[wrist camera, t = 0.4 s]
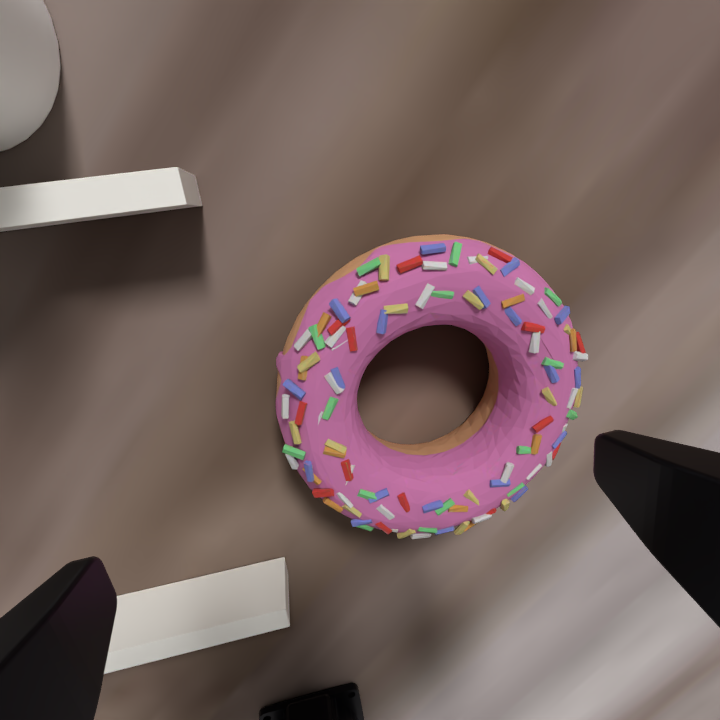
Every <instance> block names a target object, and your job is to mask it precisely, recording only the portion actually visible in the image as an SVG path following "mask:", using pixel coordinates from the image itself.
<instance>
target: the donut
mask: <svg viewBox="0 0 720 720" xmlns="http://www.w3.org/2000/svg"><path fill="white" fill-rule="evenodd" d="M569 314H570V308H569V306H563V304H562V302H561V299H560V298H558V297H557V295H556V294H555V293H554V291H553V290H552V289H551V288H550V286H549V285H548V284H547V283H546V282H545V281H544V279H543V278H542V277H541V276H540V275H539V274H538V273H537V272H536V271H535V270H533V269H532V268H531V267H530V266H528V265H527V264H526V263H525V262H523V261H522V260H520V259H518V258H516V257H515V256H514V255H512V254H510V253H508V252H506V251H504V250H502V249H500V248H498V247H495V246H493V245H491V244H489V243H486V242H483V241H479V240H476V239H472V238H469V237H461V236H454V235H447V234H441V235H425V236H412V237H408V238H403V239H399V240H395V241H392V242H389V243H387V244H384V245H381V246H379V247H376V248H374V249H372V250H370V251H368V252H366V253H364V254H362V255H360V256H358V257H356V258H355V259H353V260H352V261H350V262H349V263H348V264H346V265H345V266H343V267H342V268H341V269H339V270H338V271H337V272H335V273H334V274H333V275H332V276H331V277H330V278H329V279H328V280H327V281H326V282H325V283H324V284H323V285H322V286H321V287H320V288H319V289H318V290H317V291H316V292H315V293H314V294H313V296H312V297H311V298H310V299H309V301H308V302H307V303H306V305H305V306H304V308H303V309H302V311H301V312H300V313H299V315H298V317H297V319H296V321H295V323H294V325H293V327H292V329H291V331H290V333H289V336H288V338H287V340H286V343H285V347H284V350H283V352H280V353H279V354H278V356H277V358H276V367H277V369H278V377H277V393H276V414H277V419H278V422H279V425H280V429H281V432H282V436H283V439H284V442H285V445H284V447H283V451H282V452H283V453H285V455H286V457H287V459H288V461H289V464H290V466H291V468H292V469H297V471H298V472H299V474H300V475H301V477H302V478H303V479H304V481H305V482H306V484H307V485H308V486H309V488H310V489H311V490H312V494H313V496H314V498H319V497H320V498H321V499H323V502H324V503H325V504H327V505H328V506H330V507H332V508H333V509H335V510H336V511H338V512H340V513H342V514H343V515H345V516H347V517H349V518H351V519H352V520H351V524H352V526H353V527H358V528H362V529H365V530H368V531H371V530H373V529H374V528H377V529H380V530H383V531H384V532H386V533H387V534H389V533H390V532H396V533H397V537H398V539H403V538H405V537H407V536H409V535H410V537H411V538H412V539H419V538H429V537H430V536H431V533H434V534H435V535H438V534H442V533H446V532H450V531H454V533H455V535H460V534H462V533H463V531H464V532H465V531H466V530H468V529H469V528H471V527H472V526H474V525H476V524H477V523H479V522H482V521H484V520H487V519H490V518H491V517H492V515H491V514H493V513H495V512H496V508H498V507H500V506H501V507H500V508H501V509H502V510H503V511H506V510H507V509H508V508H509V504H510V502H509V501H508V500H509V499H511V500H512V501H513V502H515V501H517V500H518V499H519V498H520V497H521V496H522V495H523V494H524V493H525V492H526V491H527V490H528V488H527V487H526V486H525V485H526V484H527V483H528V482H529V481H530V480H531V479H532V478H533V477H534V476H535V475H536V474H537V473H538V472H539V471H540V469H541V468H542V467H543V466H544V465H545V466H547V467H548V466H551V464H552V460H553V459H554V458H555V456H556V454H557V452H558V449H559V447H560V444H561V441H562V440H563V439H564V437H565V436H566V435H567V432H566V431H565V429H566V427H567V425H568V424H567V422H568V419H569V418H570V419H572V420H574V419H575V418H577V417H578V416H577V413H576V412H574V411H573V410H572V408H573V406H574V407H577V408H578V407H580V403H581V397H582V391H583V388H582V387H581V368H580V367H578V363H577V361H585V360H588V354H586V352H585V349H584V346H583V342H582V339H581V336H580V333H579V332H576V330H575V329H573V327H572V322H571V320H570V318H569ZM443 324H446V325H454V326H457V327H460V328H463V329H466V330H468V331H469V332H471V333H473V334H474V335H476V336H477V337H478V338H479V339H480V340H481V341H482V342H483V343H484V345H485V347H486V350H487V355H488V360H489V378H488V382H487V386H486V389H485V392H484V395H483V398H482V399H481V401H480V402H479V404H478V406H477V407H476V409H475V410H474V412H473V413H472V414H471V415H470V416H469V417H468V419H467V420H466V421H465V422H464V423H463V424H462V425H460V426H459V427H458V428H456V429H455V430H453V431H452V432H450V433H449V434H447V435H445V436H442V437H440V438H438V439H435V440H433V441H431V442H426V443H419V444H413V445H405V444H396V443H391V442H387V441H384V440H382V439H380V438H378V437H376V436H375V435H373V434H372V433H371V432H369V431H368V430H367V429H366V428H365V426H364V425H363V422H362V420H361V417H360V414H359V412H358V407H357V392H358V388H359V384H360V380H361V378H362V376H363V373H364V371H365V369H366V367H367V365H368V364H369V363H370V362H371V360H372V359H373V358H374V357H375V355H376V354H377V353H378V352H379V351H380V350H381V349H382V348H383V347H385V346H386V345H387V344H388V343H389V342H390V341H392V340H394V339H395V338H397V337H399V336H400V335H402V334H404V333H406V332H409V331H412V330H415V329H417V328H420V327H423V326H431V325H443ZM576 350H577V351H576ZM457 525H459V526H458V527H457V528H456V529H455V530H454V526H457Z"/></svg>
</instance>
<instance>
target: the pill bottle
mask: <svg viewBox="0 0 720 720" xmlns="http://www.w3.org/2000/svg"><path fill="white" fill-rule="evenodd" d="M60 69H61V65H60V54H59V44H58V39H57V36H56V32H55V29H54V25H53V21H52V18H51V16H50V13H49V11H48V9H47V7H46V5H45V3H44V0H0V152H1V151H5V150H8V149H11V148H13V147H14V146H16V145H18V144H20V143H21V142H23V141H25V140H27V139H28V138H29V137H30V136H31V135H32V134H33V133H34V132H35V131H36V130H37V129H38V128H39V127H40V126H41V125H42V124H43V122H44V121H45V119H46V117H47V116H48V114H49V113H50V111H51V109H52V107H53V104H54V101H55V98H56V95H57V92H58V88H59V78H60Z"/></svg>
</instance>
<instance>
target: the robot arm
mask: <svg viewBox="0 0 720 720" xmlns="http://www.w3.org/2000/svg"><path fill="white" fill-rule="evenodd" d="M593 472H594V477H595V479H596V482H597V483H598V485H599V486H600V488H601V489H602V490H603V492H604V493H605V494H606V495H607V497H608V498H609V499H610V501H611V502H612V503H613V505H614V506H615V507H616V508H617V510H618V511H619V512H620V514H621V515H622V516H623V518H624V519H625V520H626V521H627V523H628V524H629V525H630V527H631V528H632V529H633V531H634V532H635V533H636V534H637V536H638V537H639V538H640V540H641V541H642V542H643V543H644V545H645V546H646V547H647V548H648V550H649V551H650V552H651V553H652V554H653V556H654V557H655V558H656V559H657V560H658V561H659V562H660V563H661V565H662V566H663V567H664V568H665V569H666V570H667V571H668V572H669V573H670V574H671V575H672V577H673V578H674V579H675V580H676V581H677V582H678V583H679V584H680V585H681V586H682V587H683V588H684V590H685V591H686V592H687V593H688V594H689V595H690V596H691V597H692V598H693V599H694V600H695V601H696V603H697V604H698V605H699V606H700V607H701V608H702V609H703V610H704V611H705V612H706V613H707V614H708V616H709V617H710V618H711V619H712V620H713V621H714V622H715V623H716V624H717V625H718V626H719V627H720V453H718V452H714V451H710V450H705V449H701V448H697V447H692V446H688V445H683V444H679V443H675V442H670V441H666V440H662V439H657V438H653V437H649V436H644V435H640V434H635V433H631V432H627V431H622V430H614V431H610V432H606V433H602V434H599V435H598V436H597V437H596V439H595V443H594V467H593ZM116 610H117V596H116V592H115V589H114V587H113V585H112V583H111V580H110V578H109V576H108V574H107V571H106V569H105V567H104V565H103V563H102V561H101V560H100V559H99V558H98V557H94V556H92V557H88V558H84V559H80V560H76V561H72V562H70V563H68V564H66V565H65V566H64V567H62V568H61V569H60V570H59V571H58V572H56V573H55V574H54V575H53V576H51V577H50V578H49V579H48V580H47V581H45V582H44V583H43V584H42V585H40V586H39V587H38V588H37V589H36V590H34V591H33V592H32V593H31V594H29V595H28V596H27V597H26V598H25V599H23V600H22V601H21V602H20V603H18V604H17V605H16V606H15V607H14V608H12V609H11V610H10V611H9V612H7V613H6V614H5V615H4V616H3V617H1V618H0V720H94V716H95V713H96V709H97V704H98V700H99V695H100V691H101V686H102V681H103V676H104V671H105V666H106V661H107V656H108V651H109V645H110V640H111V635H112V630H113V625H114V620H115V615H116ZM259 720H364V717H363V711H362V706H361V700H360V695H359V690H358V686H357V684H355V683H350V684H346V685H342V686H339V687H335V688H332V689H328V690H324V691H321V692H317V693H314V694H310V695H306V696H303V697H299V698H296V699H292V700H288V701H285V702H281V703H278V704H274V705H270V706H267V707H264V708H262V709H261V710H260V712H259Z"/></svg>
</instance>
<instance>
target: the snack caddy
mask: <svg viewBox="0 0 720 720" xmlns="http://www.w3.org/2000/svg"><path fill="white" fill-rule="evenodd" d="M199 206H202V201H201V197H200V193H199V189H198V184H197V180H196V176H195V175H193V174H191V173H189V172H187V171H185V170H183V169H181V168H179V167H173V168H164V169H156V170H147V171H138V172H130V173H121V174H112V175H104V176H95V177H86V178H78V179H69V180H61V181H52V182H43V183H35V184H26V185H17V186H9V187H0V232H3V231H11V230H19V229H27V228H34V227H42V226H50V225H58V224H66V223H73V222H81V221H89V220H97V219H105V218H113V217H120V216H128V215H136V214H144V213H152V212H159V211H167V210H175V209H183V208H191V207H199ZM286 627H290V610H289V580H288V570H287V566H286V561H285V557H282V558H278V559H273V560H269V561H265V562H261V563H256V564H252V565H248V566H244V567H239V568H235V569H231V570H226V571H222V572H218V573H214V574H209V575H205V576H201V577H197V578H192V579H188V580H184V581H180V582H175V583H171V584H167V585H163V586H158V587H154V588H150V589H145V590H141V591H137V592H133V593H128V594H124V595H120V596H117V610H116V615H115V620H114V625H113V630H112V635H111V640H110V645H109V651H108V656H107V661H106V666H105V671H104V674H106V673H110V672H114V671H118V670H121V669H125V668H129V667H133V666H137V665H141V664H145V663H149V662H153V661H157V660H161V659H165V658H168V657H172V656H176V655H180V654H184V653H188V652H192V651H196V650H200V649H204V648H208V647H211V646H215V645H219V644H223V643H227V642H231V641H235V640H239V639H243V638H247V637H251V636H255V635H258V634H262V633H266V632H270V631H274V630H278V629H282V628H286Z"/></svg>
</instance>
